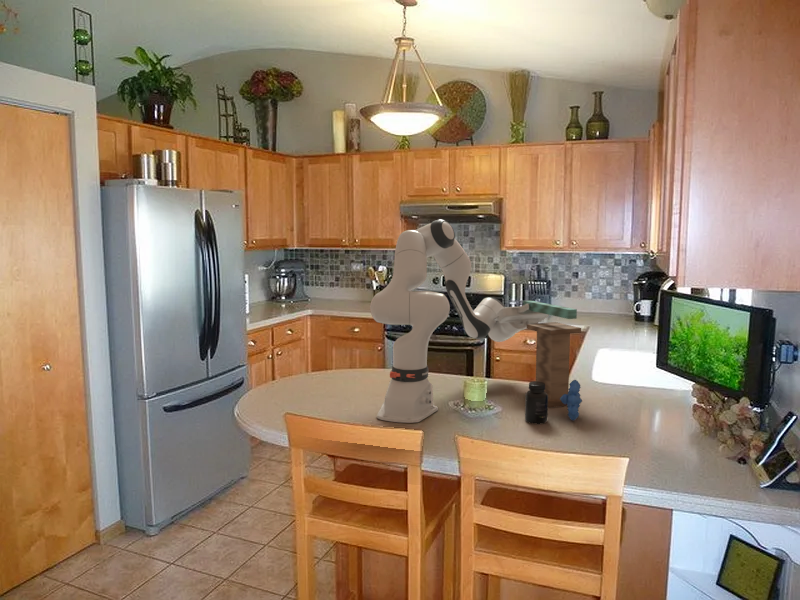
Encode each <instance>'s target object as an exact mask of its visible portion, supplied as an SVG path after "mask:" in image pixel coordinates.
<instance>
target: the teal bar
mask: <svg viewBox="0 0 800 600" xmlns="http://www.w3.org/2000/svg"><path fill="white" fill-rule="evenodd" d="M525 304H531V308H530V309H529V310H530V311H534V312H539V313H543V314H548V315H549V316H554V317H557V318H562V319H566V320H575V319H577V315H578V314H577V313H578V309H577V308H573V307H572V308H571V307H566V306H561V305H556V304H551V303H546V302H541V301H536V300H523V304H522V306H523V305H525Z"/></svg>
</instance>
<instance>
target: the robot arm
mask: <svg viewBox="0 0 800 600" xmlns="http://www.w3.org/2000/svg"><path fill="white" fill-rule="evenodd" d="M430 257H433V258H434V259H435V261H436V263H437V265H438V266H439V268H440V269H441V271H442V273H443V275H444V280H445V289H446V292H447V294H448V297H449V299H448V297H447V296H446V295H445V294H444V293H440V292H438V291H437V292H436V291H431V290H415V289H418V288H419V287H420V286H422V285H423V284H424V283H425V281H426V280H427V277H428V275H427V273H428V272H427V271H428V270H427V269H428V268H427V267H428V266H427V265H428V260H427V259H428V258H430ZM471 272H472V262H471V258H470V256H469V255H468V254H467V252H466V251H465V250H464V248H463V247H462V246H461V244H460V242H458V240H457V239H456V234H455V231H454V228H453V226H452V225H451V223H450V222H448V221H446V220H445V219H437V220H433V221H432V222H430V223H428V224H426V225H423V226H421V227H419V228H416V229H407V230H405V231H402V232H401V233H400V234H399V236H398V238H397V241H396V245H395V251H394V264H393V274H392V277H391V280H390V282H389V283H388V284H387V286H386V287H384V288H383V289H382V290H381V291H378V292H377V293H376V294H374V296H373V298H372V299H371V302H370V304H369V305H370V306H369V310H370V315H371V317H372V319H373V320H374V321H375V322H376V323H378V324H379V323H380V324H383V325H385V324H386V325H391V326H393V325H395V326H396V325H397V326H400V325H401V326H403V325H404V326H405V325H406V326H407V325H408V326H412V329H411V330H410V331H409V332H408V333H405V334H403V335H401V336H399V337H397V339H395V341H394V343H393V346H392V351H393V352H392V356H393V357H392V358H393V360H392V362H393V364H392V366H391V371H390V372H389V377H390V381H389V383H388V387H387V390H386V393H385V395H384V399H383V401H384V402H382V405H381V407H379V408H380V409H379V410H378V412H377V414H376V418H377V419H378V420H382V421H386V422H394V423H402V424H403V423H408V424H409V423H413V424H414V423H419V422H421V421H423V420H424V419H426V418H427V417H430V416H431V415H432V414H434V413H436V412H438V411H439V408H438V406H437V405H435V404H434V389H433V384H432V383H431V382H430V381H429V379H428V377H429V367H428V365H427V362H428V361H427V360H428V347H429V341H430V339H431V336H432V335H433V332H435V330H436V329H437V328H438V327H439V326H441V324H443V323H445V321H446V320H447V319H448V317H449V315H450V309H451V308H450V307H451V306H450V301H451V303H452V305H453V307H454V309H455V311H456V312H457V315H458V317H459V319H460V321H461V324H462V327H463V331H465V334H466V335H467V336H468V337H469V338H471V339H475V340H482V339H486V337H487V336H488V337H489V338H490V339H491V340H492V341H494V342H496V343H500V342H501V343H502V342H505V341H507V340H509V339H511V338H513V337H514V336H515V335H516V334H518V333H519V332H521V331H523V330H525V329H527V324H535V323H542V321H544V320H546V319H547V318H548V317H549V316H550V315H548V314H543V313H539V312H534V311H530V310H529V309H530V308H531V304H525V305H523V304H522V305H520V306H506V305H505V304H504V303H503V302H502V301H501V300H499V299H497V298H495V297H491V296H490V297H488V296H487V297H484V298H483V299H482V300H481V301H480V302H479V304H477V306H476V308H475V309H473V308H472V307H471V304H470V301H468V299H467V295H466V286H467V282H468V280H469V277H470V275H471ZM449 300H450V301H449Z"/></svg>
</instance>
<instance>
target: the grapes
mask: <svg viewBox="0 0 800 600" xmlns="http://www.w3.org/2000/svg"><path fill="white" fill-rule="evenodd" d="M581 388H582V387H581V384H580V382H579V381H578V380H577V379H572V381H571V382H570V383H569V387H568V394H564V395H563V396H562V397H561V398H560V400H561V401H562V403H563V404H567V406H566V407H567V412H568V413H567V417H569V419H570V420H571V421H576V420H577V419H578V417H579V416H580V412H579V409H580V407H581V403H582V402H583V400H582V398H581V394H580V391H581V390H580V389H581Z"/></svg>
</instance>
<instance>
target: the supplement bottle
mask: <svg viewBox="0 0 800 600" xmlns="http://www.w3.org/2000/svg"><path fill="white" fill-rule="evenodd" d="M544 390H545V383H543V382H539V381H536V380H535V381H529V383H528V390H526V392H525V393H526V394H525V393H524V394H525V395H524V399H525V400H524V401H525V403H524V404H525V405H524V406H525V407H524V420H525V421H526V422H527V423H529V422H530V423H529V424H532V423H537V424H536V425H541V424H540V423H543V424H545V422H546V423H547V422H548V415H549V413H548V411H549V408H548V394H547V393H546V392H545V391H544Z"/></svg>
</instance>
